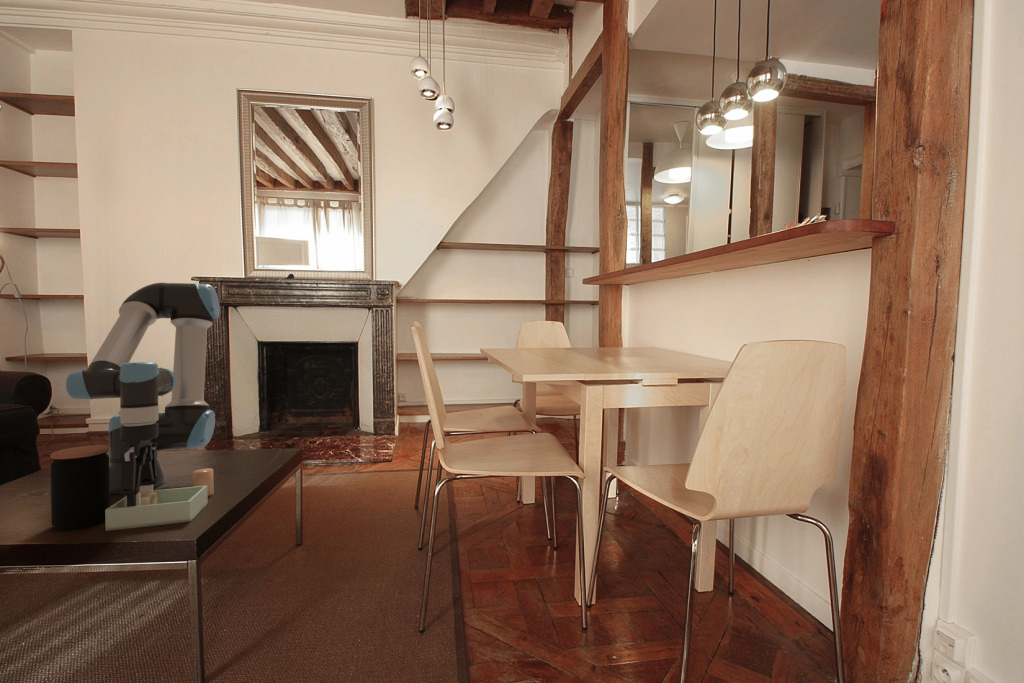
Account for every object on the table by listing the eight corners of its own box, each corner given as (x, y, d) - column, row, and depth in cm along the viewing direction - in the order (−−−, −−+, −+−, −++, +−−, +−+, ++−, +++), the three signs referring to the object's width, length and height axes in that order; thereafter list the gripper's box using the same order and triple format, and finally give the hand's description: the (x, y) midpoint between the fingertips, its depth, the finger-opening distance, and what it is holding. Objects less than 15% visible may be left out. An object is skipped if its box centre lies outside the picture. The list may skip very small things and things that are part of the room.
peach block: (196, 493, 136) (196, 469, 136) (215, 491, 138) (215, 467, 138) (190, 498, 132) (189, 474, 132) (210, 496, 133) (210, 472, 133)
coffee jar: (105, 511, 122) (104, 443, 122) (114, 521, 116) (113, 449, 115) (48, 524, 114) (47, 451, 114) (54, 535, 107) (53, 457, 107)
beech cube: (134, 513, 119) (133, 494, 119) (157, 511, 120) (156, 492, 120) (124, 521, 114) (123, 500, 114) (148, 518, 115) (148, 498, 115)
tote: (132, 511, 122) (132, 492, 122) (207, 503, 127) (207, 485, 127) (105, 530, 110) (105, 509, 110) (190, 521, 115) (190, 501, 115)
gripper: (139, 419, 125) (140, 505, 125) (100, 430, 106) (100, 532, 106) (172, 417, 127) (173, 501, 127) (139, 428, 109) (140, 527, 108)
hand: (140, 515), depth 116 cm, fingers open, 6 cm apart
